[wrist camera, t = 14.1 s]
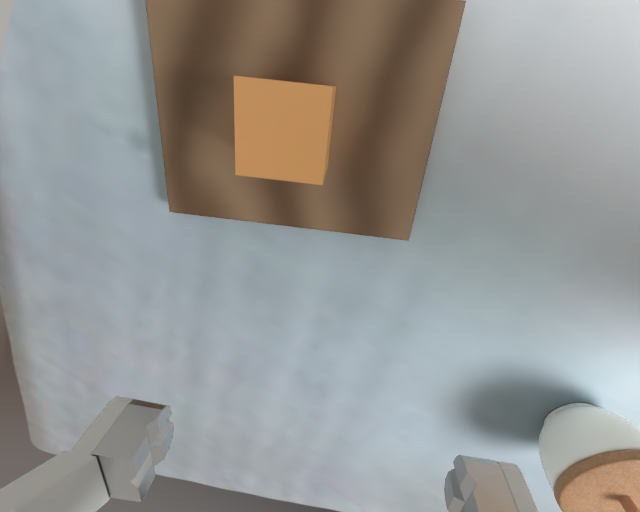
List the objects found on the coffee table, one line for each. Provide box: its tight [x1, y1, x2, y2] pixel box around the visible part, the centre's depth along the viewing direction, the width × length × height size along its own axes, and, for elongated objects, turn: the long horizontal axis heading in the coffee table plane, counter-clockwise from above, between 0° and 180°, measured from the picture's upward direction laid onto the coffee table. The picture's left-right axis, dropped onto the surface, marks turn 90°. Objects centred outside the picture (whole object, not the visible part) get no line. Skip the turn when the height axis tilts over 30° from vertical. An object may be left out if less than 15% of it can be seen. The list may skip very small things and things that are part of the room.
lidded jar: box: [538, 403, 640, 512], centre depth 33 cm, size 11×11×9 cm
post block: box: [146, 0, 466, 240], centre depth 23 cm, size 20×16×5 cm
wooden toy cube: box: [234, 76, 336, 185], centre depth 22 cm, size 5×5×6 cm
